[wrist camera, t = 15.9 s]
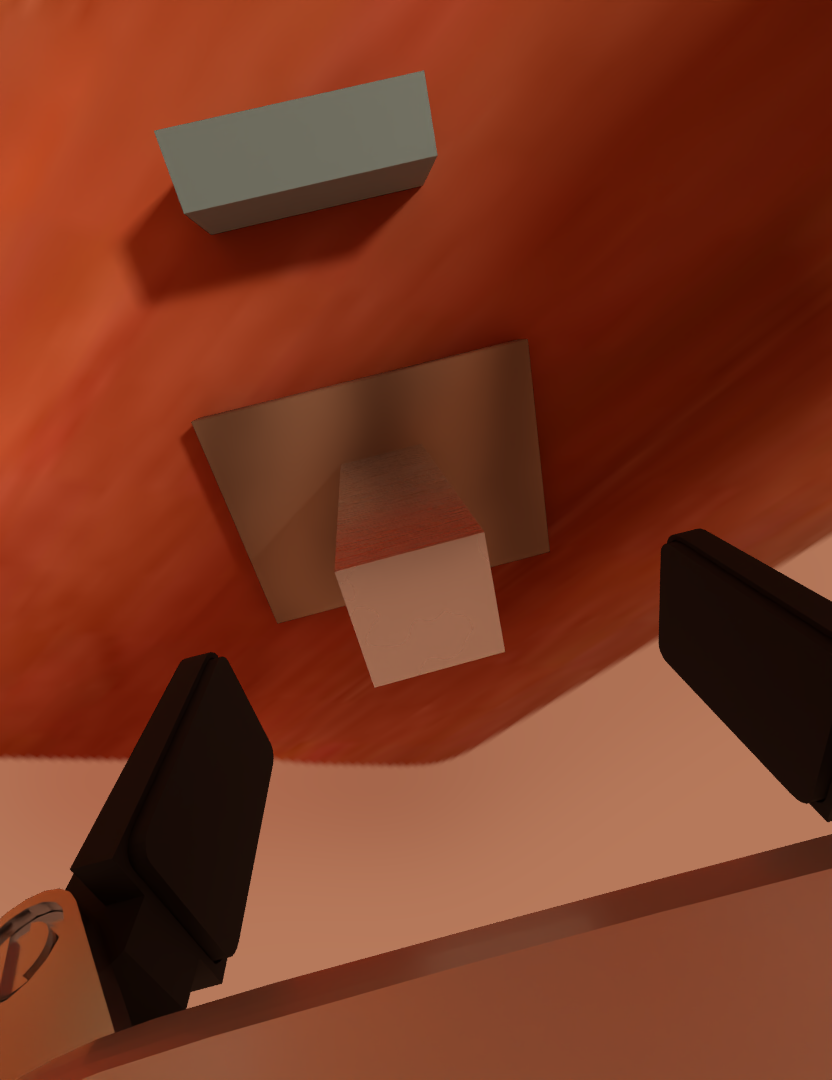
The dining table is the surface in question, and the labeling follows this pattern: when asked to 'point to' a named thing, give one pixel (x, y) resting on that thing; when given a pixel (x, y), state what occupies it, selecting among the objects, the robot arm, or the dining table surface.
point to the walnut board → (368, 430)
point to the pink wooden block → (412, 568)
